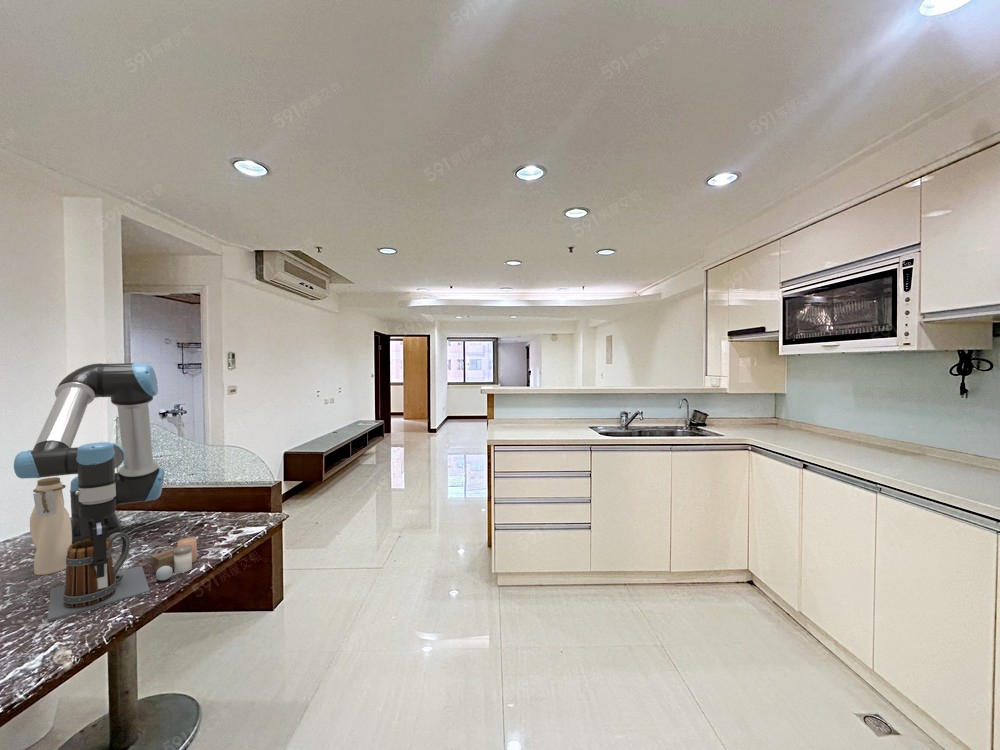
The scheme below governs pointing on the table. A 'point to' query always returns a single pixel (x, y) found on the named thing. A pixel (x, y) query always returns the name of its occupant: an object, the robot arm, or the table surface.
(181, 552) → the jar
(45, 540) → the cream corked bottle
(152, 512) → the table surface
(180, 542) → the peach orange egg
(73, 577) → the mug
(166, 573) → the grey ball
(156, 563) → the walnut block
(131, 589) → the slate pad
